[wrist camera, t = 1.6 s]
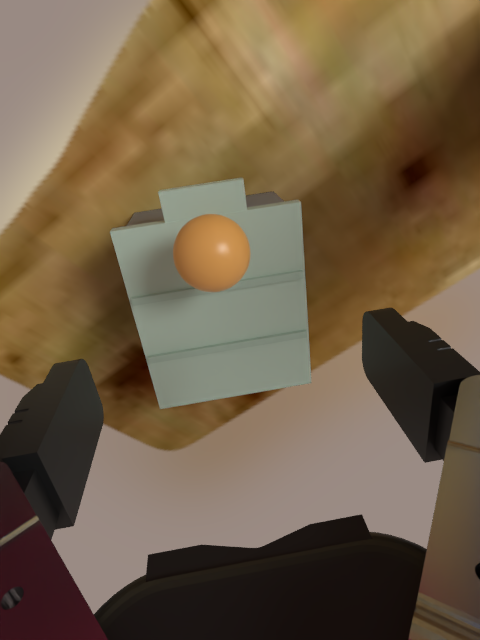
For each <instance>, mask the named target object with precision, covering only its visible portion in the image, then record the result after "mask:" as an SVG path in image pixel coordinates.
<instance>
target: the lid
mask: <svg viewBox="0 0 480 640" xmlns="http://www.w3.org/2000/svg"><path fill="white" fill-rule="evenodd" d="M158 193H159V198H160V203H161V207H162V212H163V216H164V220H163V221H156V222H150V223H144V224H137V225H131V226H124V227H118V228H112V229H111V231H110V234H111V238H112V241H113V245H114V248H115V252H116V255H117V259H118V262H119V266H120V269H121V273H122V276H123V280H124V283H125V287H126V290H127V294H128V297H129V301H130V304H131V308H132V312H133V315H134V319H135V322H136V326H137V329H138V333H139V336H140V340H141V343H142V347H143V350H144V354H145V357H146V361H147V364H148V368H149V371H150V375H151V378H152V382H153V386H154V389H155V393H156V396H157V400H158V403H159V407H160V409H164V408H169V407H175V406H181V405H187V404H193V403H198V402H204V401H210V400H216V399H222V398H227V397H233V396H239V395H245V394H251V393H256V392H262V391H268V390H274V389H280V388H285V387H291V386H297V385H303V384H308V383H311V367H310V350H309V332H308V315H307V298H306V281H305V263H304V246H303V229H302V212H301V202H300V201H299V200H292V201H285V202H279V203H272V204H266V205H259V206H253V207H247V205H246V196H245V188H244V180H243V178H236V179H229V180H222V181H216V182H209V183H203V184H196V185H190V186H183V187H177V188H170V189H164V190H159V192H158Z"/></svg>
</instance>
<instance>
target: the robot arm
mask: <svg viewBox="0 0 480 640" xmlns="http://www.w3.org/2000/svg"><path fill="white" fill-rule="evenodd" d="M362 362H363V367H364V371H365V374H366V376H367V378H368V380H369V381H370V383H371V384H372V386H373V387H374V389H375V390H376V392H377V393H378V395H379V396H380V397H381V399H382V400H383V402H384V403H385V405H386V406H387V408H388V409H389V411H390V412H391V413H392V415H393V416H394V418H395V420H396V421H397V422H398V424H399V425H400V427H401V428H402V430H403V431H404V433H405V434H406V436H407V437H408V439H409V440H410V441H411V443H412V444H413V446H414V447H415V449H416V450H417V452H418V453H419V455H420V456H421V458H422V459H423V461H424V462H430V461H436V460H441V459H443V461H444V463H443V469H442V474H441V479H440V484H439V489H438V494H437V500H436V505H435V510H434V515H433V520H432V525H431V530H430V536H429V541H428V546H427V549H425V548H423V547H421V546H420V545H418V544H415V543H413V542H410V541H408V540H405V539H402V538H399V537H395V536H392V535H388V534H382V533H376V532H369V530H368V528H367V525H366V523H365V521H364V519H363V516H362V515H357V516H352V517H346V518H341V519H336V520H330V521H326V522H320V523H314V524H310V525H308V526H305V527H303V528H301V529H299V530H297V531H295V532H293V533H291V534H288V535H286V536H284V537H282V538H280V539H278V540H276V541H273V542H271V543H269V544H267V545H265V546H262V547H260V548H242V547H226V546H212V545H198V546H192V547H188V548H182V549H176V550H172V551H166V552H161V553H155V554H150V555H148V562H147V573H146V575H144V576H142V577H140V578H138V579H137V580H135V581H133V582H132V583H130V584H128V585H127V586H125V587H124V588H123V589H121V590H120V591H119V592H117V593H116V594H114V595H113V596H112V597H111V598H110V599H109V600H108V601H107V602H106V603H104V604H103V605H102V606H101V607H100V608H99V610H98V611H97V612H96V613H95V614H93V613H92V611H91V609H90V607H89V606H88V604H87V602H86V600H85V599H84V597H83V595H82V593H81V592H80V590H79V588H78V587H77V585H76V583H75V581H74V579H73V578H72V576H71V574H70V573H69V571H68V569H67V567H66V565H65V564H64V562H63V560H62V559H61V557H60V555H59V553H58V552H57V550H56V548H55V546H54V544H53V543H52V541H51V539H52V536H53V532H54V530H55V529H60V528H66V527H70V526H74V523H75V520H76V516H77V513H78V509H79V506H80V502H81V499H82V495H83V491H84V488H85V484H86V481H87V478H88V474H89V471H90V467H91V464H92V460H93V457H94V453H95V450H96V446H97V442H98V439H99V436H100V432H101V429H102V426H103V407H102V403H101V400H100V397H99V394H98V392H97V389H96V386H95V384H94V381H93V378H92V375H91V373H90V370H89V367H88V365H87V363H86V361H85V360H83V359H79V360H73V361H67V362H61V363H56V364H54V365H53V366H52V368H51V370H50V372H49V374H48V375H47V377H46V379H45V381H44V383H42V384H37V385H36V386H35V387H34V388H33V389H32V390H30V391H29V392H28V393H27V394H26V395H25V396H24V397H23V398H22V400H21V401H20V403H19V405H18V406H17V408H16V410H15V413H14V414H13V415H12V416H11V418H10V419H9V421H8V425H6V426H5V428H4V429H3V431H2V433H1V434H0V640H480V372H479V371H478V370H477V369H476V368H475V367H473V366H472V365H471V364H470V363H469V362H468V361H466V360H465V359H464V358H463V357H462V356H461V355H460V354H459V353H458V352H456V351H455V350H454V349H451V347H450V345H448V344H447V343H446V342H445V341H444V340H441V338H440V337H439V336H438V335H437V334H436V333H435V332H433V331H432V330H431V329H430V328H428V327H426V326H424V325H421V324H419V323H417V322H414V321H410V322H407V321H406V320H405V319H404V318H403V317H402V316H401V315H400V314H399V313H398V312H397V311H396V310H395V309H393V308H385V309H379V310H373V311H367V312H365V313H364V315H363V326H362Z"/></svg>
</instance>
